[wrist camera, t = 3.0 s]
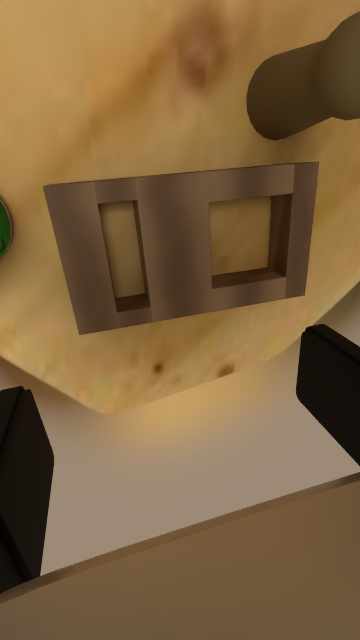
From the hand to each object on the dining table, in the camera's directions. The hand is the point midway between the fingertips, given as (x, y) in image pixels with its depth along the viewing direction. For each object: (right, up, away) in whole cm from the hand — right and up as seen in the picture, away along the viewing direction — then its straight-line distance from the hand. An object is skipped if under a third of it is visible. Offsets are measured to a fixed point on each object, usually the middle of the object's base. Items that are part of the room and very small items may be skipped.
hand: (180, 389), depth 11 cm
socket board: (+1, +10, +19) cm, 22 cm away
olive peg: (+8, +21, +16) cm, 28 cm away
